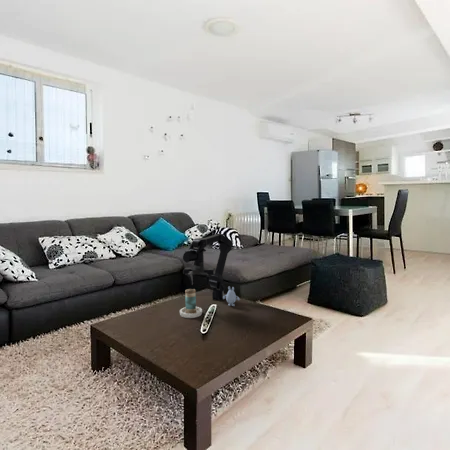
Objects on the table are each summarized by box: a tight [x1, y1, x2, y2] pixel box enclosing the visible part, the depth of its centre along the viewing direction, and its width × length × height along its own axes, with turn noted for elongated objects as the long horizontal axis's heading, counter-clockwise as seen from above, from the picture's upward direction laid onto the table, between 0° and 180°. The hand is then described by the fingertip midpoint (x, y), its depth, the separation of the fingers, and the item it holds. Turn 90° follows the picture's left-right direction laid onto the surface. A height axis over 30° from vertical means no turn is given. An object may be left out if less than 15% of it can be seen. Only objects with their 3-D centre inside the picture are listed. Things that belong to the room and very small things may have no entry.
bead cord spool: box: [184, 288, 197, 314], centre depth 197 cm, size 6×6×13 cm
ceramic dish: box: [179, 306, 203, 319], centre depth 198 cm, size 12×12×2 cm
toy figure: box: [223, 285, 241, 307], centre depth 209 cm, size 11×6×12 cm, turn 72°
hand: (199, 284), depth 210 cm, fingers open, 9 cm apart
